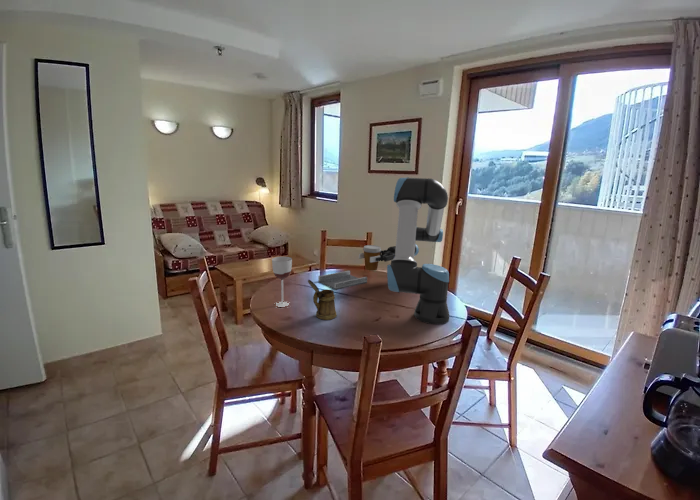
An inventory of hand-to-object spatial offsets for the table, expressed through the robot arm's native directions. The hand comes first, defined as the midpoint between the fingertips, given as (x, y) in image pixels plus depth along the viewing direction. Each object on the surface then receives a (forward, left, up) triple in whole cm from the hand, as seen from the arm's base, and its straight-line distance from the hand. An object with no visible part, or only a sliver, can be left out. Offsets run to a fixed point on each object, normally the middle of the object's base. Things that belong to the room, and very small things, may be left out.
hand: (364, 258), depth 187 cm
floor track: (+7, +17, -18) cm, 26 cm away
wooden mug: (-40, +1, -18) cm, 44 cm away
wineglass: (-38, +24, -18) cm, 48 cm away
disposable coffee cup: (+4, -2, -7) cm, 8 cm away
